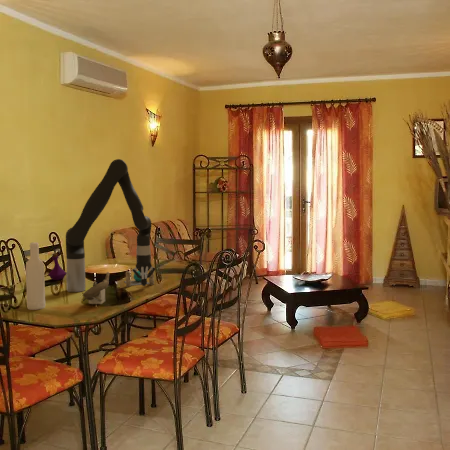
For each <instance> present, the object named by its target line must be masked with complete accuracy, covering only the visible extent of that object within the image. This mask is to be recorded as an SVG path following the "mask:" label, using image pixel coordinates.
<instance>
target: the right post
mask: <svg viewBox="0 0 450 450" xmlns="http://www.w3.org/2000/svg"><path fill="white" fill-rule="evenodd" d="M149 272H150V270H149V271H148V273H149ZM148 283H149V284H148V285H150V286H153V285H155V271H154V272H153V274H152V275H151V276H150V277H149V278H148Z"/></svg>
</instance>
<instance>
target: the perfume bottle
mask: <svg viewBox="0 0 450 450" xmlns="http://www.w3.org/2000/svg"><path fill="white" fill-rule="evenodd" d="M53 251H54V252H53V253H51V259H52V260H53V262H54V265H53V266H54V267H53V268H52V269H51V271H49V273H47V275H48V277H49V278H51V279H50V280H53V281H60V280H63V279H64V278H65V277H66V272H67V271H65V270H64V269H63V268H62V267H61V266H60V264H59V262H58V260H59V258H60V257H59V256H58V253H60V252H61V250H60V248H56V249H54V250H53ZM56 252H58V253H56Z"/></svg>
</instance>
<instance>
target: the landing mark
mask: <svg viewBox="0 0 450 450" xmlns="http://www.w3.org/2000/svg"><path fill="white" fill-rule="evenodd" d="M123 282H124V283H125V284H126V280H125V281H123ZM140 285H141V286H142V284H141V281H140V282H138V281H136V280H135V279H134V280H131V287H132V286H140ZM147 285H149V281H147Z"/></svg>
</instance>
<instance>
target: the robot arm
mask: <svg viewBox="0 0 450 450" xmlns="http://www.w3.org/2000/svg"><path fill="white" fill-rule="evenodd" d="M128 169H129V168H128V164H127V163H126V162H125V161H124V160H123V159H119V158H117V159H114V160H112V162H110V164H109V166H108V168H107V170H106V172H105V174H104V176H103V178H102V179H101V181H100V182H99V184H98V185H97V186H96V187H95V188H94V190H93V192H92V193H91V194H90V196H89V197H88V199H87V201H86V202H85V205H84V206H83V209H82V212H81V214H80V216H79V218H78V220H77V221H76V222H75V224H73V226H71V227H70V228H68V230H66V233H65V256H66V271H65V272H66V275H65V277H66V278H65V279H66V291H67V292H68V293H78V292H79V293H80V292H85V290H86V261H85V259H86V257H85V255H86V253H85V239H86V237H87V235H88V233H89V231H90V229H91V227H92V226H93V224H94V223H95V222H96V220H97V219H98V217H99V216H100V215H101V213H103V210H104V209H105V208H106V206H107V204H108V203H109V201H110V199H111V196H112V194H113V191H114V189H115V187H116V186H117V184H118V185H119V187H120V189H121V190H122V194H123V197H124V199H125V202H126V205H127V207H128V209H129V210H130V212H131V218H132V222H133V224H134V226H135V227H136V229H137V230H138V234H137V236H136V249H135V250H136V251H135V252H136V264H135V267H133V268H132V269H131V271H132V272H133V274H134V273H135V275H136V276H137V277H138V278H141V284H142V285H141V286H142V287H146V286H147V285H148V284H147V282H148V279H149V277H150V276H151V275H152V274H153V272H154V273H155V270H156V267H154V266H153V265H152V262H151V261H152V260H151V259H152V254H151V253H152V252H151V233H152V220H151V218H150V217H149V216H147V215H145V213H144V205H143V203H142V201H141V199H140V197H139V195H138V193H137V190H136V189H135V187H134V186H133V185H134V184H133V183H132V180H131V177H130V173H129V170H128ZM149 270H150V272H149ZM137 271H139V272H140V275H139V274H138V273H137Z"/></svg>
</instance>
